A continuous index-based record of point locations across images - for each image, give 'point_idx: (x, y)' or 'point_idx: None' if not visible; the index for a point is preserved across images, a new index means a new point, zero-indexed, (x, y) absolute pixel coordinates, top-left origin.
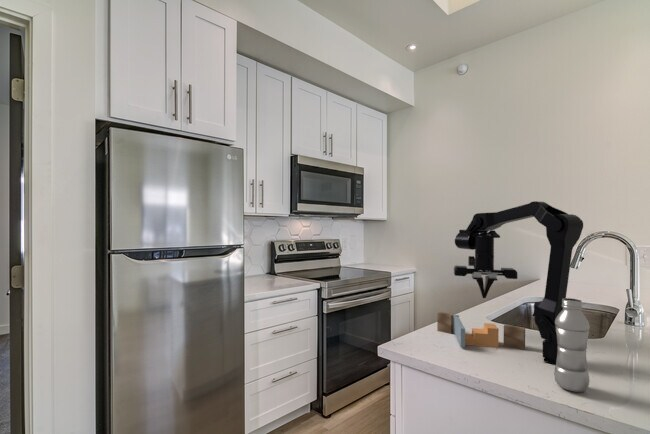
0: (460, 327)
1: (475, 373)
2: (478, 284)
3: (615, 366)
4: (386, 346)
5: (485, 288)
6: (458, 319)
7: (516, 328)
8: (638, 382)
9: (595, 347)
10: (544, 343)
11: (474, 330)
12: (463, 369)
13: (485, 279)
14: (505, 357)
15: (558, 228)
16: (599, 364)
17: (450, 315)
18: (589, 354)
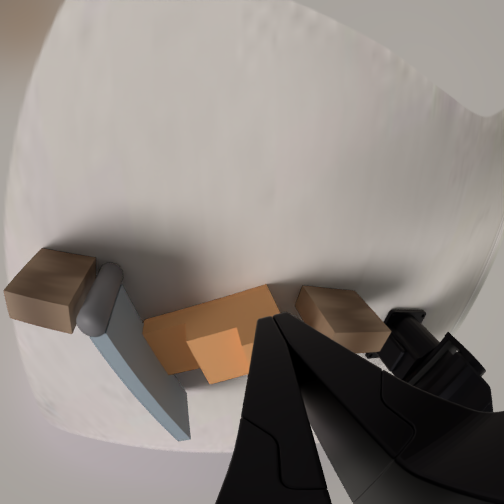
0: (173, 436)
1: (229, 447)
2: (237, 474)
3: (465, 289)
4: (49, 421)
5: (326, 445)
6: (128, 375)
7: (360, 351)
8: (452, 335)
9: (488, 183)
10: (390, 370)
11: (202, 363)
12: (209, 446)
13: (429, 499)
14: None
15: None
16: (451, 296)
17: (68, 332)
18: (464, 244)
